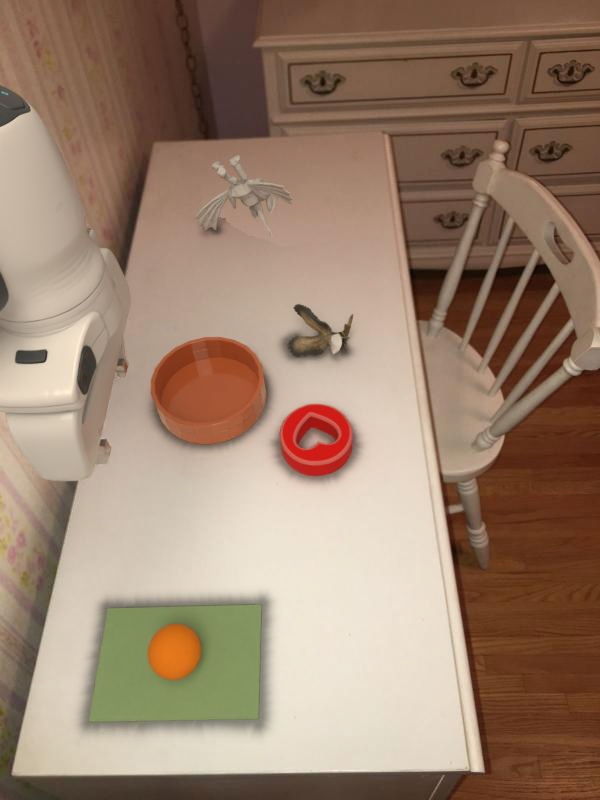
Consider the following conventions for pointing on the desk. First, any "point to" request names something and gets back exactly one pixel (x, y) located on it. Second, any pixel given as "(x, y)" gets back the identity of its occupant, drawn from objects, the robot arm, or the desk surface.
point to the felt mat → (197, 692)
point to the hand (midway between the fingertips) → (110, 412)
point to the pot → (209, 390)
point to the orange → (174, 651)
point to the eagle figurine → (323, 340)
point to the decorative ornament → (321, 455)
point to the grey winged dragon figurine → (242, 195)
